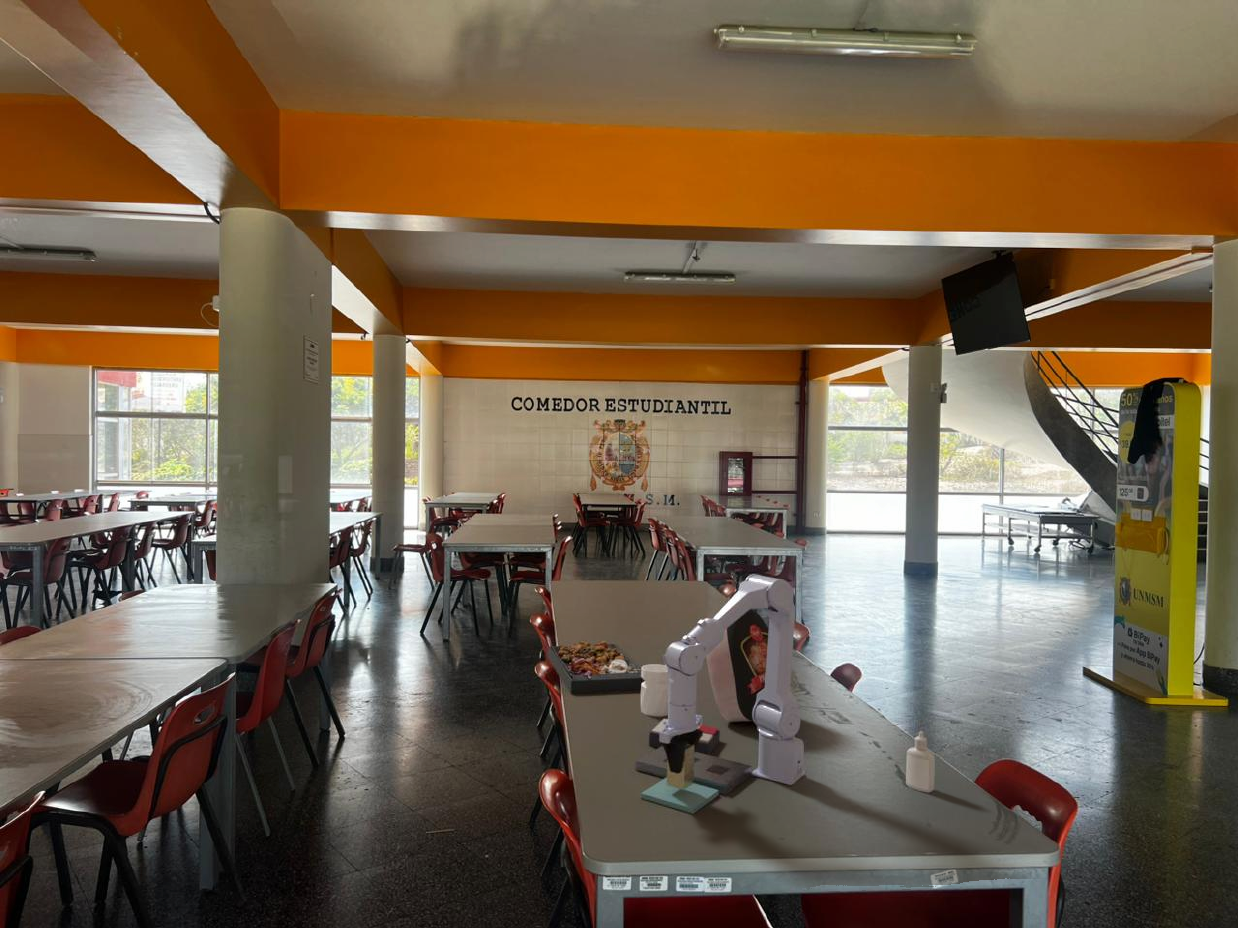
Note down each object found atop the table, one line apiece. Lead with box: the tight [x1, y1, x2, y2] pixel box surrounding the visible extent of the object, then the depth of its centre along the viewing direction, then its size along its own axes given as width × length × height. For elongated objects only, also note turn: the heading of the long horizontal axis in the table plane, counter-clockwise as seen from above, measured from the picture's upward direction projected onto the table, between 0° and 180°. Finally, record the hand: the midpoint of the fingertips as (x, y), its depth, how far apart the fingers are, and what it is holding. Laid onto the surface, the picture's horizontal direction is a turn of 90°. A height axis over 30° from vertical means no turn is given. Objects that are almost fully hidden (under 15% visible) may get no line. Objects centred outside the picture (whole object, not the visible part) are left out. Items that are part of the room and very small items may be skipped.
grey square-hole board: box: [635, 746, 753, 795], centre depth 174 cm, size 22×13×2 cm, turn 56°
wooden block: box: [667, 743, 694, 790], centre depth 161 cm, size 4×4×8 cm
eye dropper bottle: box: [905, 730, 936, 793], centre depth 168 cm, size 4×6×12 cm
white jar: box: [640, 663, 669, 717], centre depth 216 cm, size 9×9×12 cm
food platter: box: [547, 640, 645, 695], centre depth 256 cm, size 45×25×10 cm, turn 14°
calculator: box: [648, 718, 721, 756], centre depth 192 cm, size 11×4×15 cm
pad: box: [640, 777, 720, 815], centre depth 161 cm, size 12×11×1 cm
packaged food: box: [706, 609, 769, 723], centre depth 213 cm, size 22×20×30 cm
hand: (680, 768), depth 161 cm, fingers closed on wooden block, 4 cm apart
